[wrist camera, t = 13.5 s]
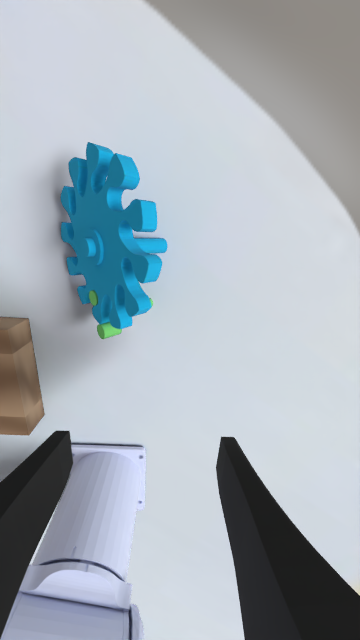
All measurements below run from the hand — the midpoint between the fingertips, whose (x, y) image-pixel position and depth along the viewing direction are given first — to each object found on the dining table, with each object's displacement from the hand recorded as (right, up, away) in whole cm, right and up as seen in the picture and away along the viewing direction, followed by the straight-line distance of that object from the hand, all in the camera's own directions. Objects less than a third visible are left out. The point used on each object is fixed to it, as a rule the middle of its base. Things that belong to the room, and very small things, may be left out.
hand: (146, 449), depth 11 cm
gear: (-3, +11, +7) cm, 14 cm away
